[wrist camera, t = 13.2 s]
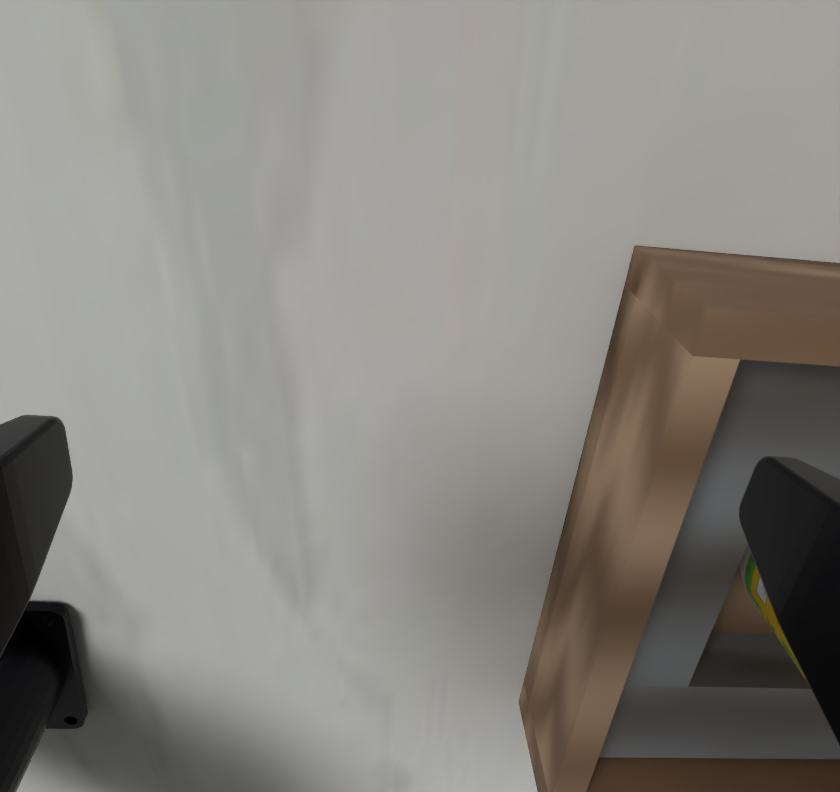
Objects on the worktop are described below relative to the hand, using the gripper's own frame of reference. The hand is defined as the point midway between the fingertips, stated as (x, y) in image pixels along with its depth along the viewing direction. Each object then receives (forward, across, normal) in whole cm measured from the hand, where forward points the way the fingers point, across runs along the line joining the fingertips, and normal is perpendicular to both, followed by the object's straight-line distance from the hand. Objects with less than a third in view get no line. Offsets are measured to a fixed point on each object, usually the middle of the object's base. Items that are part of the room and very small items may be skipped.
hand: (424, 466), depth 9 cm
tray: (+12, -16, +10) cm, 22 cm away
